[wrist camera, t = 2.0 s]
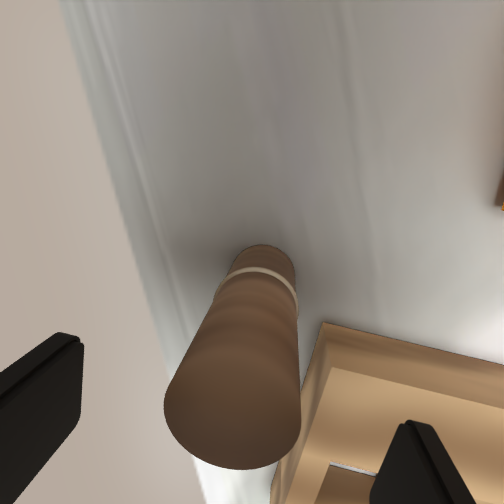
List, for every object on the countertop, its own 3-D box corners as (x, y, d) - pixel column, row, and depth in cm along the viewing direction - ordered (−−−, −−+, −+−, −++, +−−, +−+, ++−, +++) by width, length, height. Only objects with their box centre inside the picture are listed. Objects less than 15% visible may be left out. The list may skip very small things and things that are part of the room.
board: (322, 322, 18) (331, 366, 14) (532, 372, 17) (601, 433, 13) (270, 487, 22) (266, 555, 18) (436, 532, 22) (468, 612, 18)
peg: (236, 236, 17) (168, 338, 7) (304, 251, 17) (323, 376, 7) (224, 297, 18) (153, 452, 9) (287, 311, 18) (285, 487, 8)
